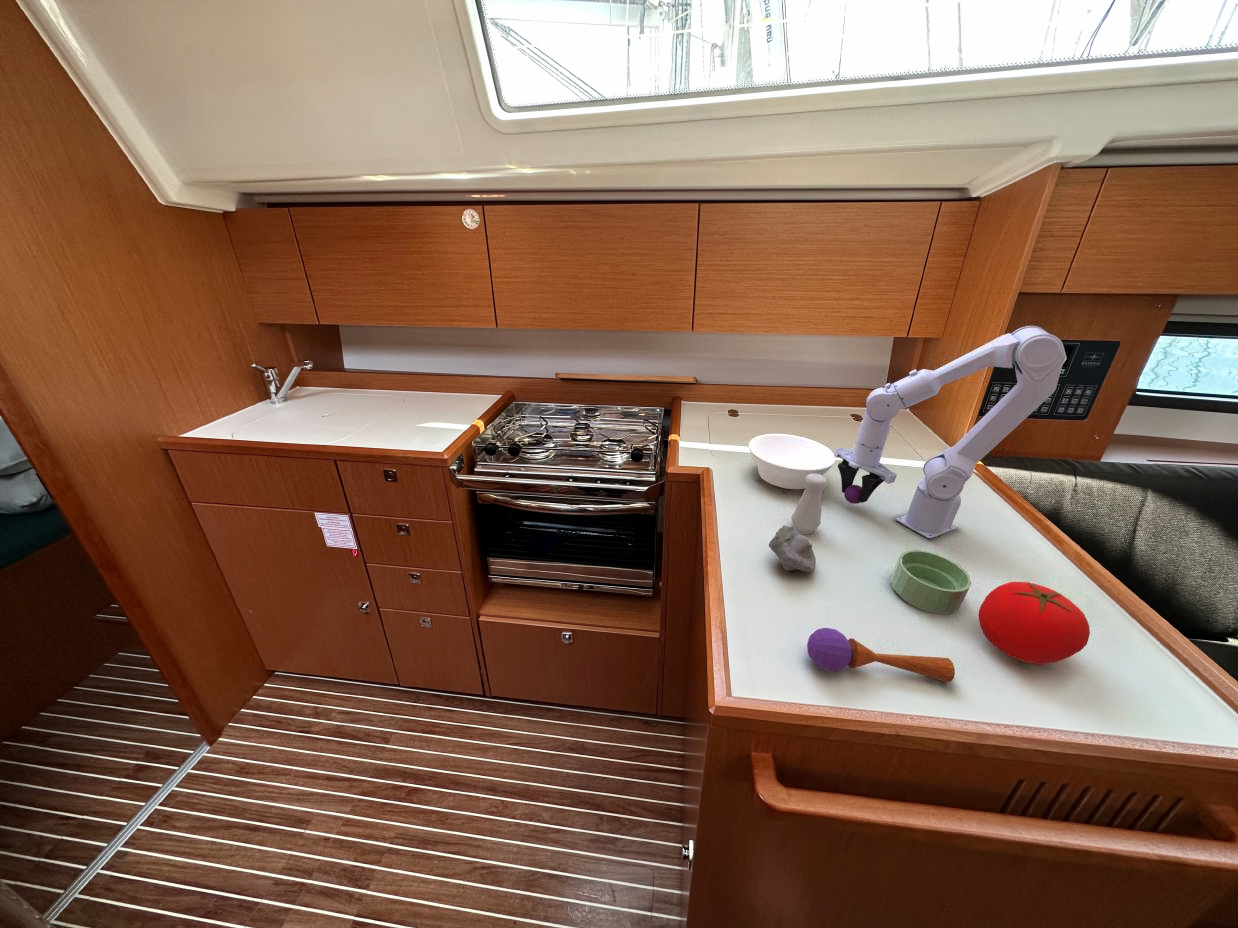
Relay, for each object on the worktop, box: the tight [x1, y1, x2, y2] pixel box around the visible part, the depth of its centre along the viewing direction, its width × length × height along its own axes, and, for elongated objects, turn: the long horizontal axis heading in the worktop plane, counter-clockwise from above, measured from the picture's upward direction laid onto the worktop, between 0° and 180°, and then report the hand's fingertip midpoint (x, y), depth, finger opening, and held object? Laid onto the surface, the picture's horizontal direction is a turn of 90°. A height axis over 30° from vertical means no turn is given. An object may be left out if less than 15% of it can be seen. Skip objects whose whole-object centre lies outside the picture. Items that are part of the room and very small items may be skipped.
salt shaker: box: [791, 473, 828, 535], centre depth 99 cm, size 6×6×13 cm
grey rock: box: [768, 524, 817, 573], centre depth 89 cm, size 11×9×8 cm
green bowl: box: [890, 549, 972, 615], centre depth 84 cm, size 11×11×6 cm
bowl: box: [748, 433, 837, 490], centre depth 120 cm, size 21×21×8 cm
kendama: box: [806, 627, 956, 683], centre depth 69 cm, size 6×6×20 cm
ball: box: [843, 484, 862, 505], centre depth 109 cm, size 4×4×4 cm
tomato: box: [978, 581, 1091, 665], centre depth 72 cm, size 12×13×11 cm
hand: (853, 496), depth 109 cm, fingers closed on ball, 4 cm apart
